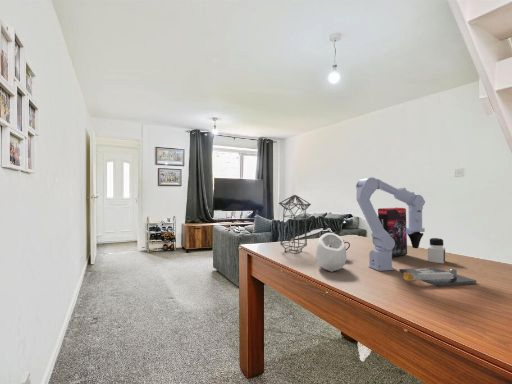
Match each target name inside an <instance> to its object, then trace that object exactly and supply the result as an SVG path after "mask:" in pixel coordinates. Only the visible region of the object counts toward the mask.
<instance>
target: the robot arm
mask: <svg viewBox="0 0 512 384" xmlns="http://www.w3.org/2000/svg"><path fill="white" fill-rule="evenodd" d="M355 188H356V202H357V203H358V206H359V208H360V210H361V211H362V213H363V216H364V218H365V220H366V222H367V224H368V226H369V228H370V231H371V237H372V238H371V239H372V243H373V245H374V249H373V250H370V252H369V265H368V267H369V268H371V269H372V270H376V271H380V272H381V271H396V270H397V268H395V267H393V257H392V249H393V248H394V246H395V241H394V239H393V238H391V237H390V235H389V234H388V232H386V231H385V230H384V228H383V226H382V224H381V222H380V220H379V218H378V213H377V212H376V210H375V208H374V205H373V204H372V201H371V197H372V195H373V194H374V193H375V192H376V191H377V190H380V191H383V192H385V193H387V194H390V195H393V197H394V199H395V200H398V201H400V202H403V203H405V204H406V205H407V206H408V227H406V229H407V230H406V234H407V237H408V238H409V240H410V243H411V247H412V248H413V249H418V248H419V247H420V243H421V239H422V238H423V236H424V233H425V232H426V231H425V227H423V209H424V206H425V204H426V200H425V199H424V197H423V196H422V195H421V194H415V192H414V191H409V190H407V188H406V187H399V188H396V187H394V186H393V185H390V184H388V183H386V182H385V181H382V180H381V179H379V178H375V177H372V176H371V177H363V178H360V179H358V181H357V183H356V184H355Z"/></svg>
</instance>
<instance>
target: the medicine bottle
mask: <svg viewBox="0 0 512 384" xmlns="http://www.w3.org/2000/svg"><path fill="white" fill-rule="evenodd" d="M427 261H428V262H430V263H436V264H445V262H446V248H445V247H444V239H442V238H437V237H432V238H430V239H429V246H428V248H427Z"/></svg>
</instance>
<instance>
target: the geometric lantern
mask: <svg viewBox="0 0 512 384" xmlns="http://www.w3.org/2000/svg"><path fill="white" fill-rule="evenodd" d="M295 201H296V203H295ZM278 204H279V205H280V206H281V207H282V208H283V212H282V213H283V214H282V216H283V217H282V226H281V235H280V244H279V245H280V246H281V247H282V248H284V253H287V254H292V252H289V251H294V252H293V254H295V255H296V254H300V253H301V252H303V249H304V248H305V247H307V246H308V239H307V238H308V237H307V235H308V234H307V218H306V217H307V213H306V212H307V211H306V210H307V209H308V208H309V207H310V206H311V205H312V203H310V202H308V201H307V200H306V199H303V198H302V197H300V196H298V195H297V194H292V195H291V196H289V197H287V198H286V199H284V200H282V201H281V202H278ZM294 208H297V210H296V211H295V212H293V211H292V210H293V209H294ZM298 210H301V211H300V212H299V214H298V215H297V216H296V214H297V212H298ZM287 212H288V213H290V214H289V215H286V213H287ZM302 212H303V215H301V214H302ZM288 217H289V218H290V221H289V222H290V223H289V225H290V226H289V235H288V241H285V242H283V240H284V239H283V238H284V225H285V218H288ZM302 218H304V242H300V235H299V234H300V232H299V231H300V229H299V228H300V225H299V222H300V221H299V220H300V219H302ZM292 219H297V241H296V221H293V222H292ZM292 223H293V226H292ZM291 228H292V231H291ZM291 232H292V241H290V240H291ZM295 244H298V245H297V246H296V245H295Z"/></svg>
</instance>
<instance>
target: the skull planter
mask: <svg viewBox="0 0 512 384" xmlns="http://www.w3.org/2000/svg"><path fill="white" fill-rule="evenodd" d="M342 239H343V238H342V236H340V235H338V234H336V233H333V232H326V233H324V234H323V233H322V235H321V236H320V237H319V238H318V241H317V245H316V250H315V260H316V263H317V264H318V265H319V266H320V268H322V269H324V270H326V271H329V272H331V273H332V272H335V271H339V270H341V269H342V268H343V267H344V266H345V265H346V261H347V250H346V249H347V246H346V243H344V242H345V240H344V239H343V240H344V241H343V240H342ZM330 245H331V247H330Z"/></svg>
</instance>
